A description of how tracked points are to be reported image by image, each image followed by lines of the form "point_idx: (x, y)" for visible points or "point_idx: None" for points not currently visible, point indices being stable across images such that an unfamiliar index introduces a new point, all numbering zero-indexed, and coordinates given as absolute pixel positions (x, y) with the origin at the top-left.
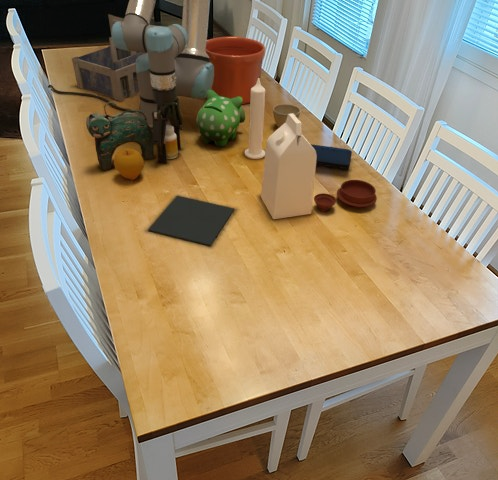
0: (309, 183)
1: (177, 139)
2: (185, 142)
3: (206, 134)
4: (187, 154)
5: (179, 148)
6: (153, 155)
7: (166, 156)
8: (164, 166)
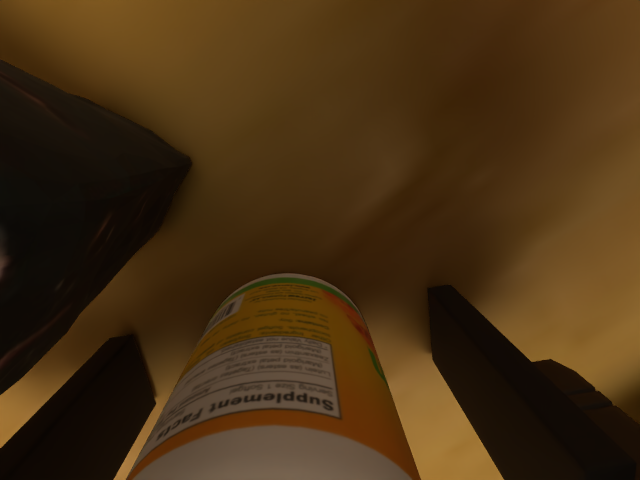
0: None
1: (481, 426)
2: (598, 311)
3: None
4: None
5: (435, 363)
6: (147, 241)
7: (120, 458)
8: None
